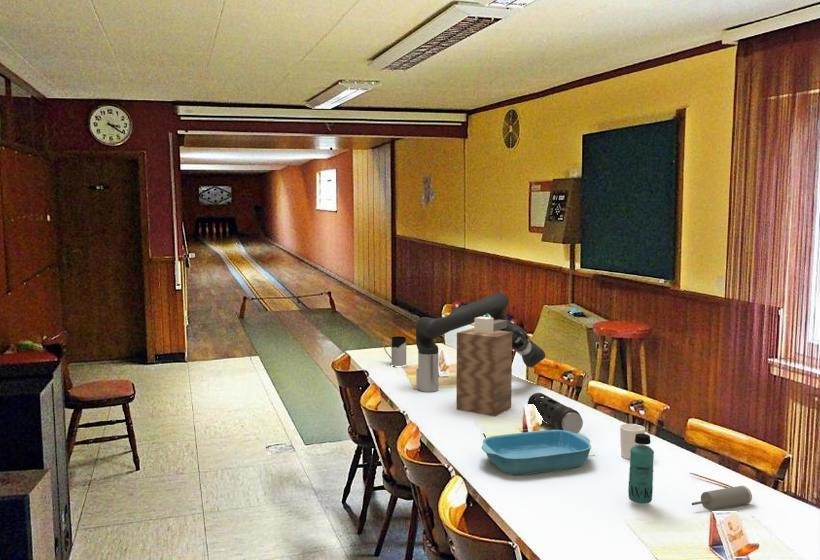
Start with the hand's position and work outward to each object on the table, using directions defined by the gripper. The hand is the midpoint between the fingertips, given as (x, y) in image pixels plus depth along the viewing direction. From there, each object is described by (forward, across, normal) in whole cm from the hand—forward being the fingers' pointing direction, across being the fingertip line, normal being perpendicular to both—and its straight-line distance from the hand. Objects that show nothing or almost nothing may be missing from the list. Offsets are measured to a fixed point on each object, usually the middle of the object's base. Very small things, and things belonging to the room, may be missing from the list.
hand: (506, 330), depth 305 cm
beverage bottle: (+53, +82, +66) cm, 118 cm away
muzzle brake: (+8, +34, +40) cm, 53 cm away
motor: (+37, +94, +57) cm, 116 cm away
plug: (+13, 0, +5) cm, 13 cm away
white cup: (+21, +68, +47) cm, 85 cm away
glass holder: (-38, -79, +13) cm, 88 cm away
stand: (+2, 0, +36) cm, 36 cm away
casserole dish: (+41, +44, +59) cm, 84 cm away
